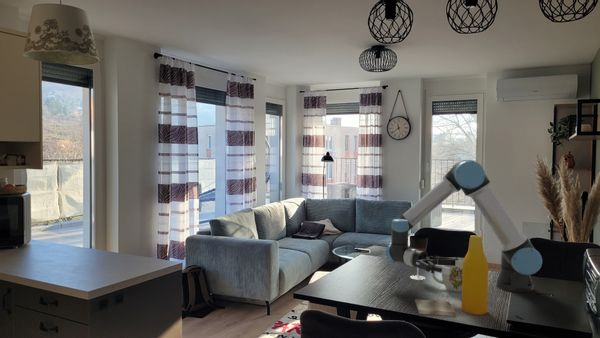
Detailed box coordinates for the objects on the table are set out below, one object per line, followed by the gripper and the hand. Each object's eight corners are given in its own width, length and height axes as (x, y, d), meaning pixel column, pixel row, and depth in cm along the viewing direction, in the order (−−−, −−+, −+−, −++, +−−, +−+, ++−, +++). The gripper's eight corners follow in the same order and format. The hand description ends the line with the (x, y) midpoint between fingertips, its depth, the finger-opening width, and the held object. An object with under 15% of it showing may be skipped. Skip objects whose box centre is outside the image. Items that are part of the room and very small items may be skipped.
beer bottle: (461, 313, 163) (463, 237, 162) (461, 305, 172) (463, 233, 171) (487, 316, 160) (489, 239, 159) (486, 308, 169) (488, 235, 168)
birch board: (448, 305, 172) (448, 301, 172) (455, 316, 160) (455, 312, 160) (415, 303, 174) (415, 299, 174) (419, 313, 162) (419, 309, 162)
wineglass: (427, 280, 206) (428, 238, 206) (409, 279, 208) (409, 238, 207) (426, 275, 214) (427, 235, 213) (408, 274, 216) (409, 235, 215)
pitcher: (428, 284, 199) (429, 255, 199) (468, 286, 198) (469, 256, 198) (434, 292, 188) (435, 261, 188) (476, 293, 187) (477, 262, 187)
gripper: (434, 263, 195) (477, 273, 178) (397, 271, 180) (440, 283, 163) (434, 246, 195) (478, 255, 178) (397, 253, 180) (441, 264, 163)
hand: (460, 269), depth 170 cm, fingers open, 13 cm apart
